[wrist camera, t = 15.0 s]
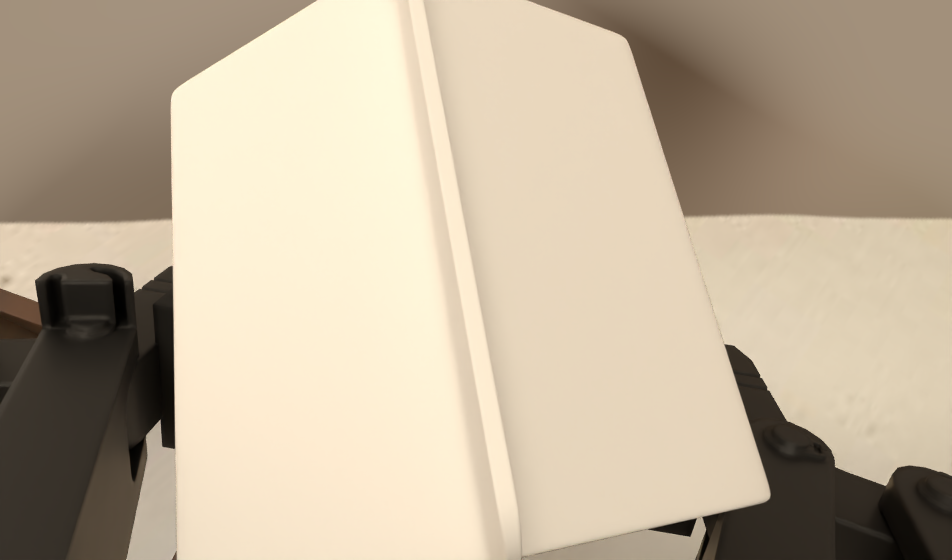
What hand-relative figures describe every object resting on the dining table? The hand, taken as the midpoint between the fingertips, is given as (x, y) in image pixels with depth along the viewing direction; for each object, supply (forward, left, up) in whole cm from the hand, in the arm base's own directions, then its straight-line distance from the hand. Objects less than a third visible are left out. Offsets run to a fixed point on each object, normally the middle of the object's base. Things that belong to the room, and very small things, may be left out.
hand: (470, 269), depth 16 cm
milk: (-1, +3, -11) cm, 11 cm away
